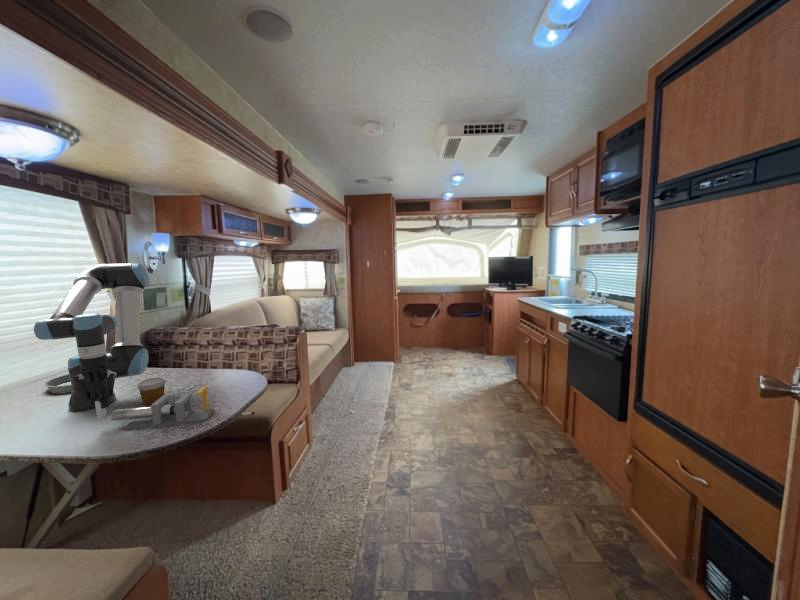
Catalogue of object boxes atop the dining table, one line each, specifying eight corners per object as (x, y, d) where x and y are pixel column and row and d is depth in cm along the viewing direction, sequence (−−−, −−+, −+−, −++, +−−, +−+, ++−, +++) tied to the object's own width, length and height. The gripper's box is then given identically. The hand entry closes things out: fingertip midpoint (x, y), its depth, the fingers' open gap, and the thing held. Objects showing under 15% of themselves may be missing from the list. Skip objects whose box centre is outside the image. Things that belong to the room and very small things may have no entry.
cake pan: (101, 389, 160) (100, 380, 160) (33, 399, 150) (31, 390, 150) (119, 373, 183) (118, 366, 182) (61, 381, 172) (59, 373, 172)
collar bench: (123, 430, 120) (119, 402, 119) (137, 418, 129) (134, 392, 128) (205, 421, 126) (203, 394, 124) (214, 410, 135) (211, 385, 133)
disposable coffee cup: (152, 403, 143) (149, 377, 141) (173, 403, 142) (170, 377, 141) (134, 414, 133) (130, 386, 132) (157, 413, 133) (153, 386, 131)
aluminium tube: (111, 423, 121) (109, 412, 121) (118, 417, 126) (117, 407, 125) (176, 416, 126) (175, 406, 125) (181, 411, 130) (180, 401, 129)
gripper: (63, 360, 114) (74, 423, 117) (106, 357, 117) (115, 419, 120) (80, 354, 122) (89, 413, 125) (119, 351, 124) (127, 409, 127)
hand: (102, 416), depth 122 cm, fingers closed
